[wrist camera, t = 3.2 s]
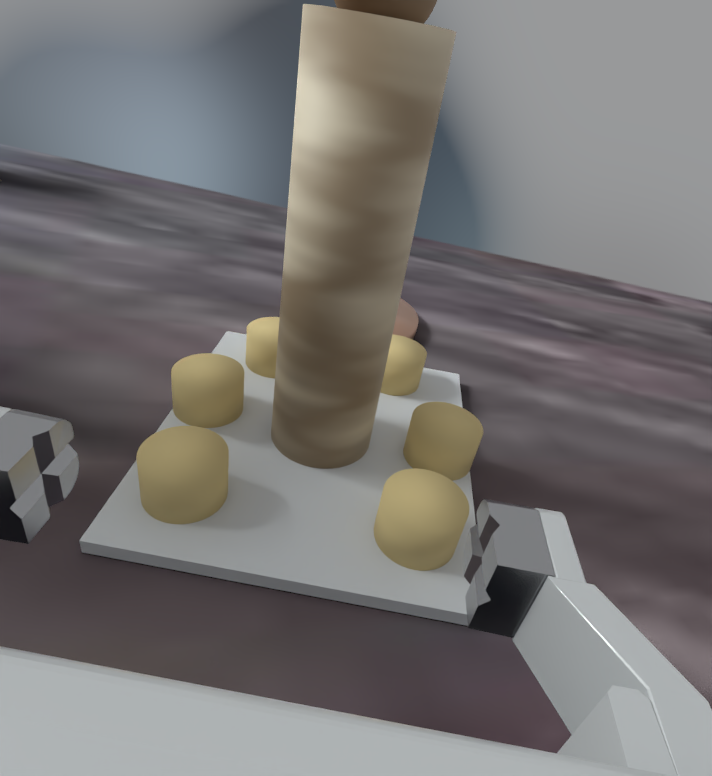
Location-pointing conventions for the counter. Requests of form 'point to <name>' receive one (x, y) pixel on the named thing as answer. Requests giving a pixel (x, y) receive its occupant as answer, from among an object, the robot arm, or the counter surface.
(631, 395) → the counter surface
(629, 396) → the counter surface
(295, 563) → the mat
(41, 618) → the counter surface
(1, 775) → the robot arm
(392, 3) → the pepper mill
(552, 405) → the counter surface
